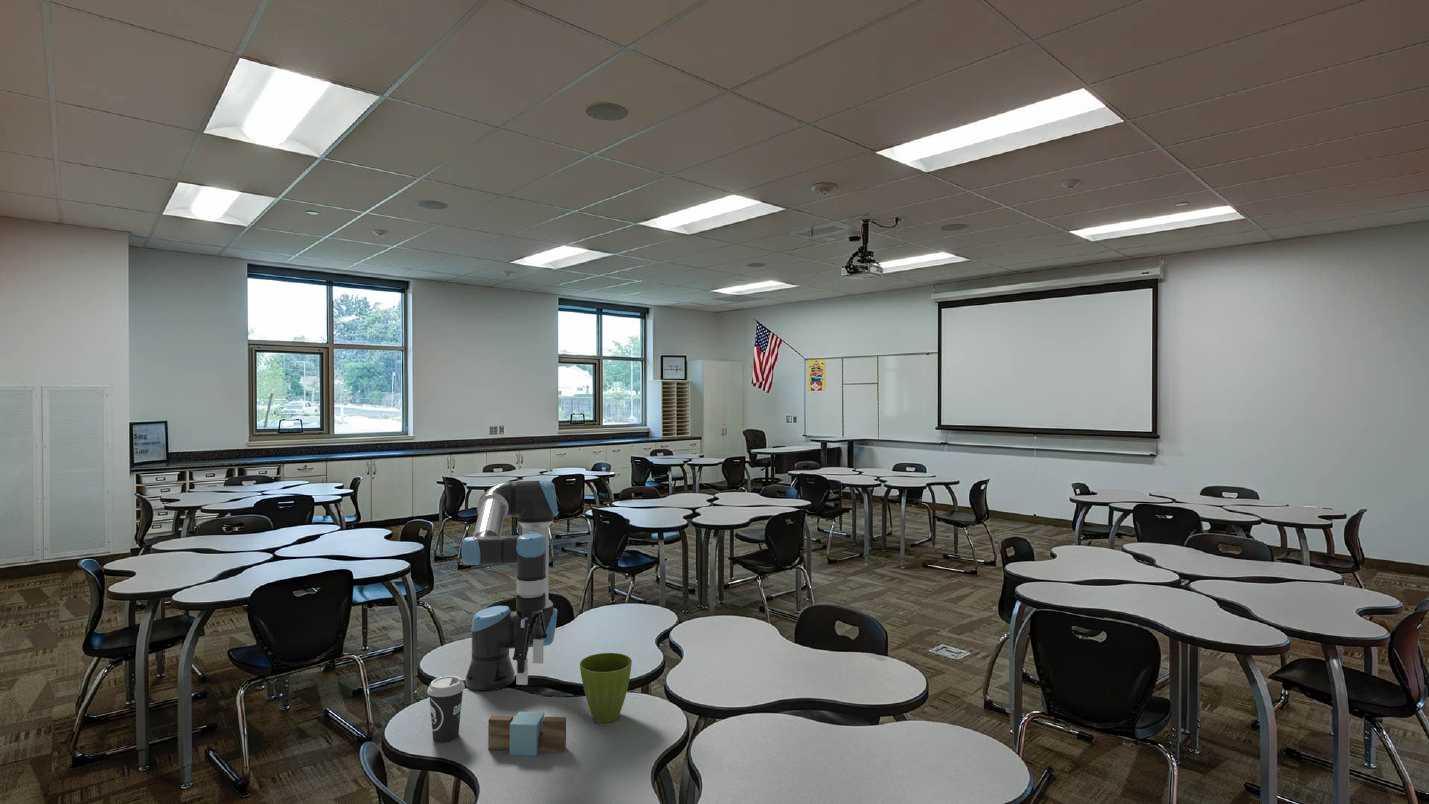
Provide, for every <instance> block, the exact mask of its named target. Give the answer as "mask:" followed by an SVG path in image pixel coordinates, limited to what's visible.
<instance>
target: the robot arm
mask: <svg viewBox="0 0 1429 804" xmlns="http://www.w3.org/2000/svg"><path fill="white" fill-rule="evenodd" d="M476 510H477V511H476V512H477V514H478V516H477V519H476V524H475V529H474V532H473V535H472V536H469V537H465V538H463V540H462V544H461V560H462V563H463V564H464V565H466V566H469V565H470V566H481V565H483V566H484V565H497V564H498V565H500V564H501V565H502V564H506V565H507V564H516V580H515V581H514V584H515V585H516V597H515V602H516V603H515V605H516V606H515V607H516V610H511V609H510V607H509V606H508V605H495V606H494V605H493V606H491V607H490V606H489V607H486V608H484V609H481V610H479V611H478V612H476V613H475V614H474V615H473V617H472V621H471V622H472V623H471V629H470V630H471V659H470V660H471V661H470V663H469V667H468V669H467V673H466V676H465V687H466V688H467V689H468V690H473V691H477V690H490V691H495V690H494V689H496V690H498V689H497V688H500V689H503V688H505V687H508V686H509V685H511V684H513V683H514V681H515V680H516V681H515V682H516V685H522V686H527V685H528V684H529V681H528V680H529V672H528V670H529V658H528V652H529V648H532V664H544V647H546V646H550V645H552V644H553V642H554V639H555V633H556V626H557V617H558V609H557V608H555V607H554V603H553V601H552V600H550V599H549V567H550V566H549V565H550V564H549V563H550V562H549V553H550V551H549V550H550V549H549V547H550V546H549V543H550V542H549V541H550V538H549V537H550V525H551V524H552V523H554V518H555V517H557V516H558V515H559V511H558V502H557V495H556V487H555V484H554V483H553V482H552V481H551V480H550V481H549V480H520V481H519V480H518V481H517V480H514V481H512V480H511V481H503V482H500V483H498V484H496V485H493V486H492V487H490V488H489V489H487V490H486V491H485V492H484V493H483V494H481V496H480V497H479V499H478V502H477V506H476ZM509 517H511V518H516V517H517V523H518V524H519V526H521V529H522V533H521V534H520V535H518V534H517V535H502V532H503V526H504V520H505V518H509ZM510 649H514V652H513V656H512V660H511V657H510ZM512 661H516V673H515V670H514V666H513V663H512ZM515 674H516V679H515Z"/></svg>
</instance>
